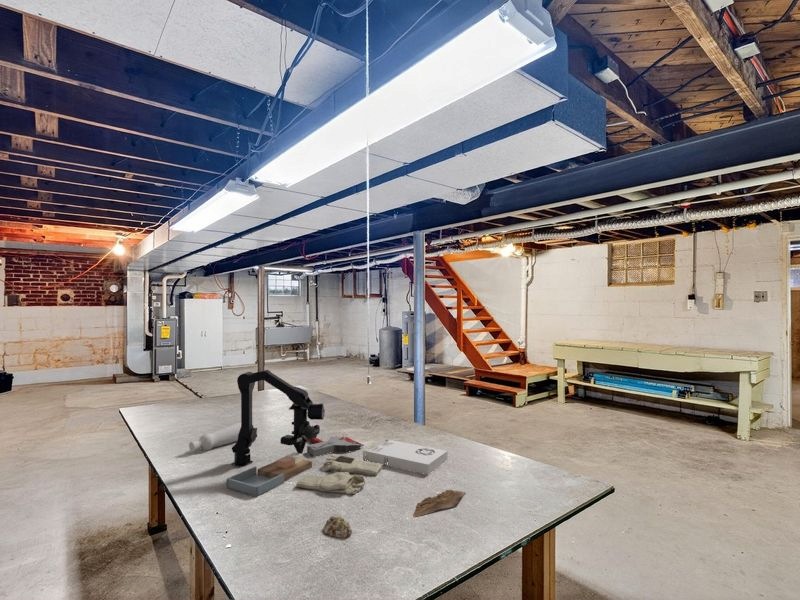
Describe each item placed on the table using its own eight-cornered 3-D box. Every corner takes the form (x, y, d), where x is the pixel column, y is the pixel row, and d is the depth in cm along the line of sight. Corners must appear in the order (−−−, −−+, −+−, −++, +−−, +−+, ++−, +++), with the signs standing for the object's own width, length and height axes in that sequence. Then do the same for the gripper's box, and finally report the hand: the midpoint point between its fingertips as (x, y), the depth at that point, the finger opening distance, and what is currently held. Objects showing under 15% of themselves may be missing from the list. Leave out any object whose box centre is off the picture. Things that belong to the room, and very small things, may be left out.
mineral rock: (316, 522, 124) (337, 506, 130) (319, 534, 125) (339, 518, 131) (336, 537, 117) (357, 520, 122) (339, 550, 118) (360, 533, 123)
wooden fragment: (453, 488, 153) (453, 485, 153) (476, 498, 144) (476, 495, 144) (400, 510, 137) (400, 507, 137) (422, 523, 128) (422, 520, 128)
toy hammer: (332, 427, 221) (363, 441, 197) (332, 434, 221) (363, 449, 197) (291, 436, 206) (319, 452, 182) (291, 444, 206) (319, 461, 182)
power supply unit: (385, 449, 198) (385, 439, 198) (447, 462, 181) (447, 450, 181) (362, 461, 182) (362, 450, 182) (428, 477, 165) (428, 464, 165)
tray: (226, 488, 154) (226, 478, 154) (255, 475, 166) (255, 466, 166) (256, 497, 146) (256, 487, 146) (284, 482, 158) (284, 473, 158)
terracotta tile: (276, 466, 169) (276, 460, 169) (285, 462, 173) (285, 456, 173) (285, 468, 166) (285, 462, 167) (294, 464, 171) (294, 458, 171)
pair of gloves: (333, 461, 181) (333, 449, 182) (385, 469, 172) (385, 456, 172) (292, 489, 153) (292, 475, 153) (352, 500, 144) (352, 485, 144)
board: (257, 475, 166) (257, 469, 166) (287, 461, 181) (287, 455, 181) (282, 482, 159) (282, 475, 159) (311, 467, 174) (311, 461, 174)
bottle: (239, 429, 219) (184, 447, 194) (245, 416, 216) (189, 432, 191) (248, 441, 215) (193, 460, 190) (254, 428, 212) (199, 446, 187)
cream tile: (286, 461, 174) (286, 455, 174) (294, 458, 178) (294, 452, 178) (294, 463, 171) (294, 457, 171) (303, 459, 176) (303, 454, 176)
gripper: (299, 427, 166) (299, 465, 166) (328, 416, 183) (328, 451, 182) (279, 423, 172) (279, 461, 171) (309, 413, 188) (309, 447, 188)
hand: (300, 455), depth 178 cm, fingers closed
